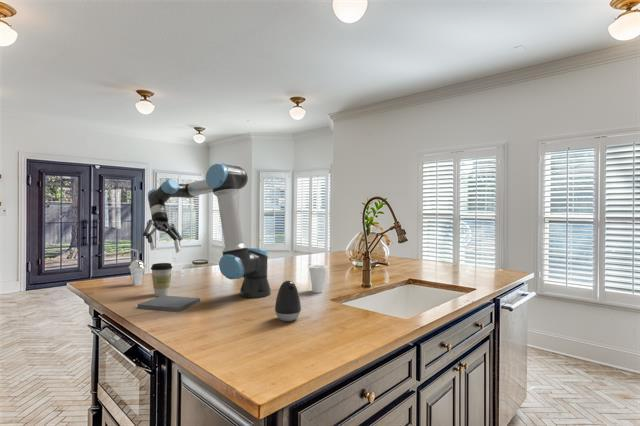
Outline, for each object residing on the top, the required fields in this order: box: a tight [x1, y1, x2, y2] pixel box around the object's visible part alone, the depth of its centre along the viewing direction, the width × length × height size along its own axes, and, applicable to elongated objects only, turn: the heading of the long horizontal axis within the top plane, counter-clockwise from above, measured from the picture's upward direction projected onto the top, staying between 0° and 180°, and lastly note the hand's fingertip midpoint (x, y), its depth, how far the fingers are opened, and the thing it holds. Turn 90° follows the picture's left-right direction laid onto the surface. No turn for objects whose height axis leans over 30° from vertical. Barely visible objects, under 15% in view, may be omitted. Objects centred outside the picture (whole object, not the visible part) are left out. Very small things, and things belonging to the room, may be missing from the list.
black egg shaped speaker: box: [274, 280, 302, 322], centre depth 137 cm, size 10×10×15 cm
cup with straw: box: [128, 248, 147, 287], centre depth 193 cm, size 8×9×20 cm
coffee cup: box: [150, 262, 173, 297], centre depth 172 cm, size 10×10×15 cm
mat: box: [137, 295, 201, 312], centre depth 155 cm, size 20×16×2 cm
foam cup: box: [308, 264, 328, 294], centre depth 182 cm, size 10×9×13 cm
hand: (166, 250), depth 173 cm, fingers open, 13 cm apart
